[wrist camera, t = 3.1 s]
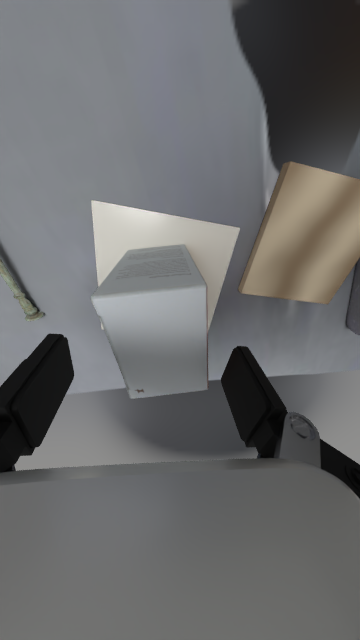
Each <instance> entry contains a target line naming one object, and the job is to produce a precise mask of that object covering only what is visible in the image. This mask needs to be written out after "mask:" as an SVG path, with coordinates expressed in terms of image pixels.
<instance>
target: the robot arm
mask: <svg viewBox="0 0 360 640" xmlns="http://www.w3.org/2000/svg"><path fill="white" fill-rule="evenodd" d="M73 378H74V370H73V365H72V360H71V355H70V350H69V345H68V340H67V338H66V337H64V336H63V335H62V334H48V335H47V336H46V337H45V339H44V340H43V341H42V342H41V343H40V344H39V345H38V347H37V348H36V349H35V350H34V351H33V352H32V354H31V355H30V356H29V357H28V358H27V359H25V360H24V361H23V362H22V363H21V364H20V365H19V366H18V367H17V368H16V370H15V371H14V372H13V373H12V374H11V375H10V376H9V378H8V379H7V380H6V381H5V382H4V383H3V384H2V386H1V387H0V640H360V465H359V464H358V463H356V462H355V461H353V460H352V459H350V458H349V457H347V456H346V455H344V454H343V453H341V452H340V451H338V450H337V449H335V448H334V447H332V446H330V445H329V444H327V443H326V442H324V441H323V440H321V439H320V436H319V432H318V431H317V429H316V427H315V426H314V425H313V423H312V422H311V421H310V420H309V419H307V418H306V417H304V416H303V415H301V414H299V413H296V412H289V413H288V412H287V410H286V407H285V405H284V404H283V402H282V401H281V399H280V397H279V396H278V394H277V393H276V391H275V390H274V388H273V386H272V385H271V383H270V382H269V380H268V378H267V377H266V375H265V374H264V372H263V370H262V369H261V367H260V366H259V364H258V363H257V361H256V359H255V358H254V356H253V355H252V353H251V351H250V350H249V348H248V347H244V346H237V347H236V348H234V349H233V351H232V354H231V356H230V358H229V361H228V363H227V366H226V368H225V371H224V373H223V375H222V378H221V383H222V386H223V389H224V392H225V395H226V398H227V400H228V403H229V406H230V409H231V412H232V415H233V418H234V420H235V423H236V426H237V429H238V431H239V434H240V437H241V439H242V440H243V441H244V442H245V444H246V447H256V449H257V451H258V455H257V459H228V460H205V461H181V462H161V463H140V464H121V465H101V466H82V467H63V468H49V469H35V470H23V471H22V470H21V471H16V469H15V465H14V464H15V463H16V462H17V461H18V459H19V457H20V456H23V455H24V456H26V455H32V453H33V451H34V449H35V447H39V446H40V444H41V443H42V441H43V439H44V437H45V435H46V433H47V431H48V429H49V427H50V425H51V423H52V421H53V419H54V417H55V415H56V413H57V410H58V409H59V407H60V405H61V403H62V401H63V398H64V397H65V394H66V392H67V390H68V388H69V386H70V384H71V382H72V380H73Z"/></svg>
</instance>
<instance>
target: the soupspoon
mask: <svg viewBox="0 0 360 640" xmlns="http://www.w3.org/2000/svg"><path fill="white" fill-rule="evenodd" d="M0 275H1V276H2V277H3V279H4V280H5V282H6V283H7V284H8V286H9V287H10V289H11V290H12V291H13V292H14V298H16V299H19V303H20V305H21V306H22V308H23V309H24V313H25V314H27V316H26V318H25V319H26V321H34V320H37V319H40V318H41V317H43V315H44V314H43V312H40V311H37V308H36V307H34V306H33V305H32V304H31V302H30V301H29V300H28V299H26V298H25V293H23V292H21V290H20V289H19V287H18V286H17V284H16V283H15V281H14V280H13V278H12V276H11V275H10V273H9V272H8V270H7V268H6V267H5V265H4V264H3V262H2V260H1V259H0Z"/></svg>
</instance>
